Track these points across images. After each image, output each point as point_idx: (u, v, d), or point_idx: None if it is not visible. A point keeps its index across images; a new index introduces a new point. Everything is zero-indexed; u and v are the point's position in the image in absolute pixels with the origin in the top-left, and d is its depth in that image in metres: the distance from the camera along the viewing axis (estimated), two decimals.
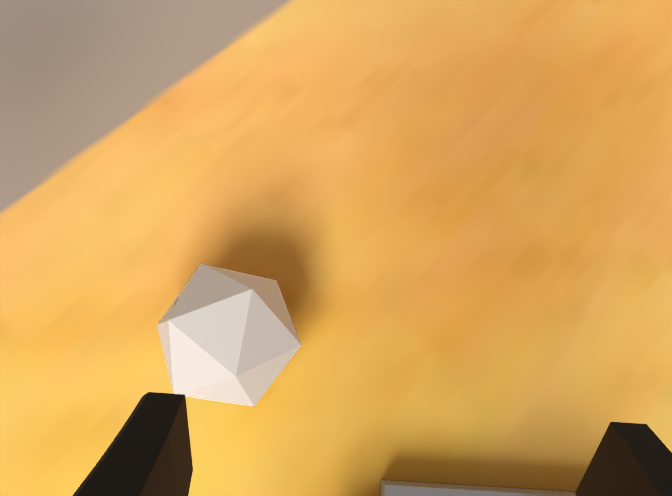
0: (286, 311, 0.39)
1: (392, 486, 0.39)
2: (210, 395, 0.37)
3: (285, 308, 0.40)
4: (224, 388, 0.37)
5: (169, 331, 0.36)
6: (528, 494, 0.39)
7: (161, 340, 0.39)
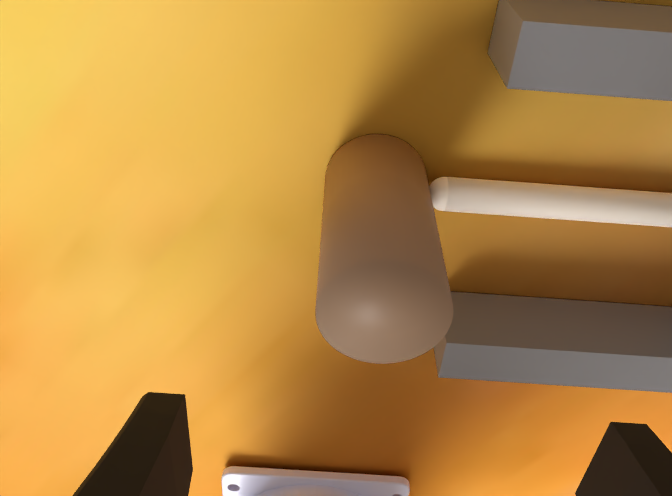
0: None
1: (544, 26, 0.13)
2: None
3: None
4: None
5: None
6: None
7: None
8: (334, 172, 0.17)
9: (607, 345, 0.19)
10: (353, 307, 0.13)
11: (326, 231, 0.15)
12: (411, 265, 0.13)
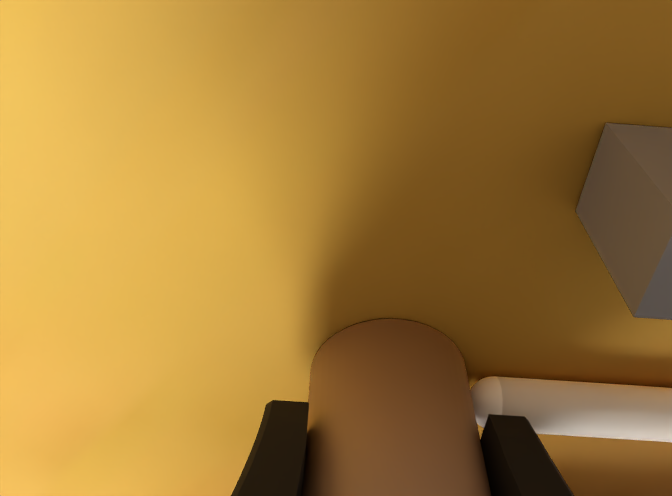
0: None
1: None
2: None
3: None
4: None
5: None
6: None
7: None
8: (323, 391, 0.11)
9: None
10: None
11: None
12: None
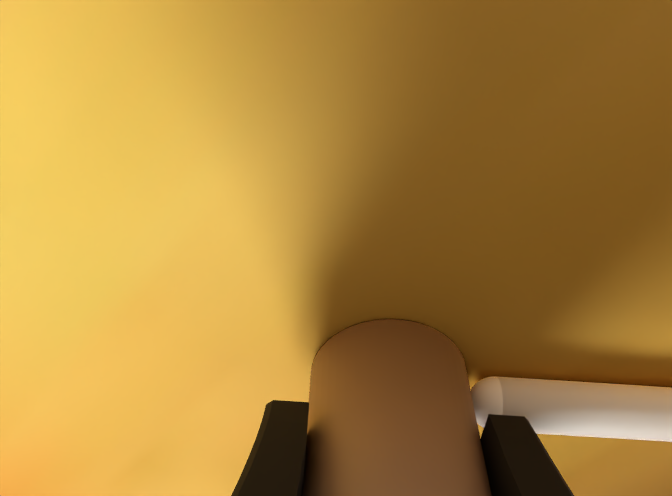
0: None
1: None
2: None
3: None
4: None
5: None
6: None
7: None
8: (323, 391, 0.11)
9: None
10: None
11: None
12: None
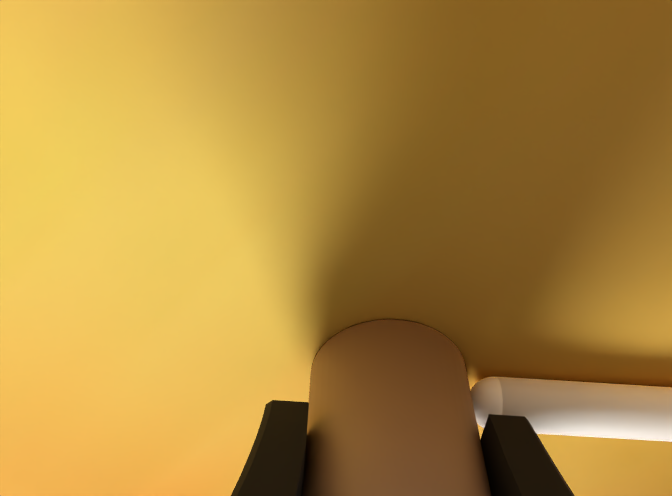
0: None
1: None
2: None
3: None
4: None
5: None
6: None
7: None
8: (323, 391, 0.11)
9: None
10: None
11: None
12: None
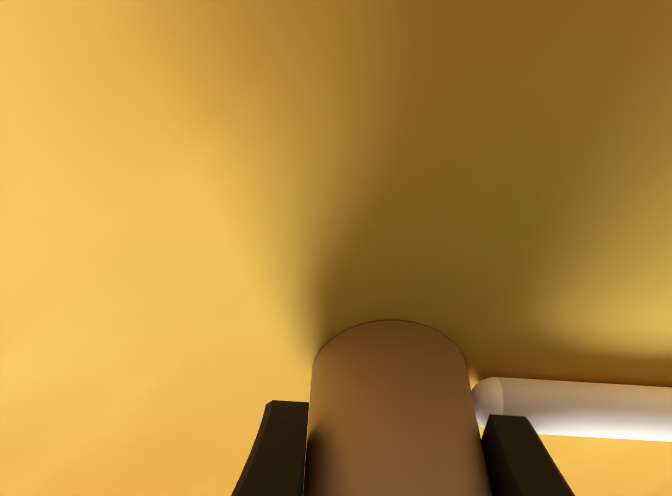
0: None
1: None
2: None
3: None
4: None
5: None
6: None
7: None
8: (324, 392, 0.11)
9: None
10: None
11: None
12: None
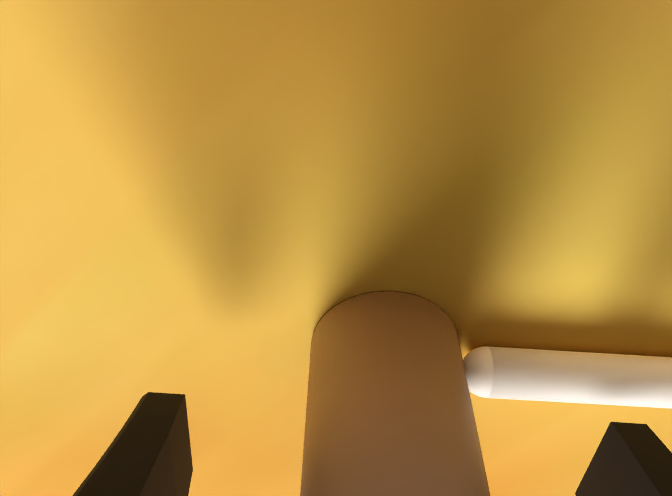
0: None
1: None
2: None
3: None
4: None
5: None
6: None
7: None
8: (323, 358, 0.11)
9: None
10: None
11: (308, 494, 0.09)
12: None
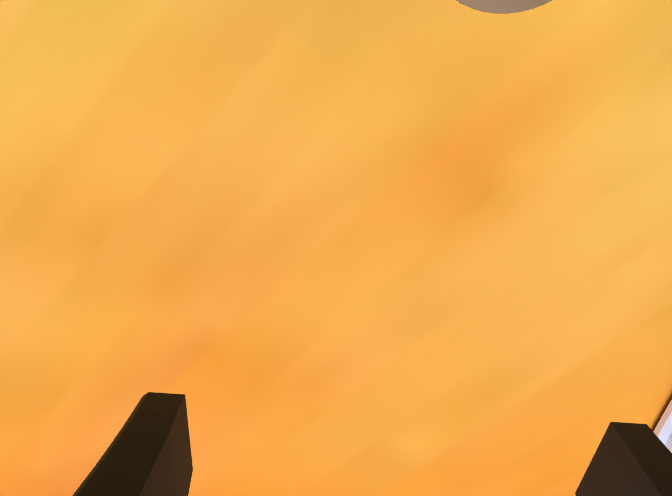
0: None
1: None
2: None
3: None
4: None
5: None
6: None
7: None
8: None
9: None
10: None
11: None
12: None
